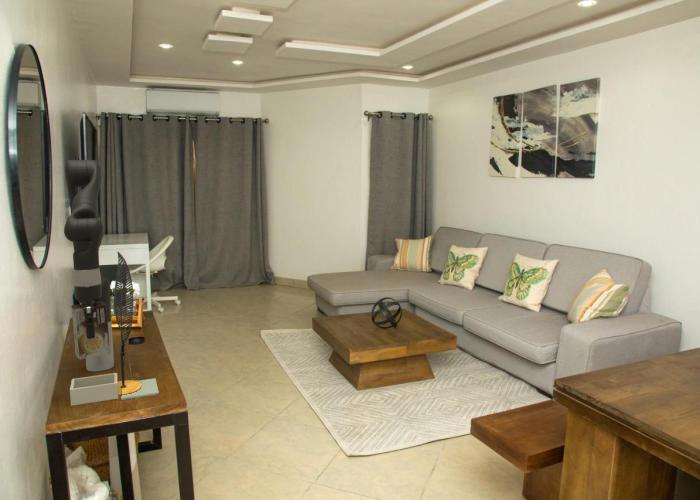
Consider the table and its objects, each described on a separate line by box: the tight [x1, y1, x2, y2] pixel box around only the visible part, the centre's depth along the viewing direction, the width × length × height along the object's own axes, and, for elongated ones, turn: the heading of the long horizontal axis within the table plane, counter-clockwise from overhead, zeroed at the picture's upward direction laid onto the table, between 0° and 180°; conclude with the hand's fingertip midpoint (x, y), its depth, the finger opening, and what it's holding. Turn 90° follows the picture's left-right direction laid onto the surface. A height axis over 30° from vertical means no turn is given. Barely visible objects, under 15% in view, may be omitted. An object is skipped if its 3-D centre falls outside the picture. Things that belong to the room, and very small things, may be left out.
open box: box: [69, 372, 119, 407], centre depth 169 cm, size 10×13×5 cm
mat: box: [120, 377, 160, 401], centre depth 174 cm, size 14×11×1 cm
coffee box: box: [70, 302, 110, 361], centre depth 166 cm, size 9×6×16 cm
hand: (91, 334), depth 167 cm, fingers closed on coffee box, 7 cm apart
